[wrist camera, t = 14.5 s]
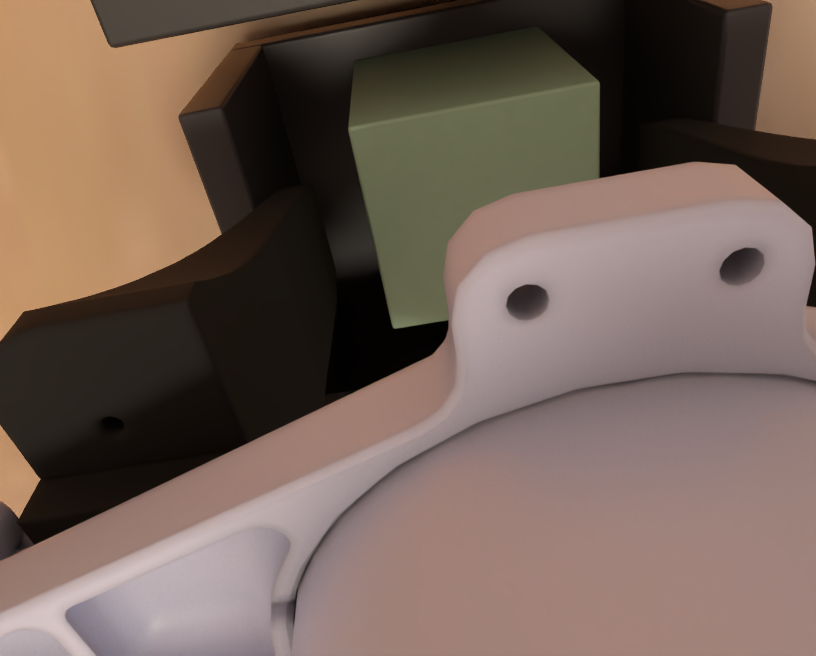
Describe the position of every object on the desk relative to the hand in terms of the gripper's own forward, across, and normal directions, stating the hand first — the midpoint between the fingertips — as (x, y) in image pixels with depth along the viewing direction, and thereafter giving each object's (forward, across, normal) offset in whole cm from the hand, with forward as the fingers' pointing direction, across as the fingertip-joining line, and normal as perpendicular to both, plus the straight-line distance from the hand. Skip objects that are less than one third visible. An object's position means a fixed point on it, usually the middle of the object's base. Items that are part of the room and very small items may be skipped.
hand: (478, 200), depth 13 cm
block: (+4, 0, 0) cm, 4 cm away
